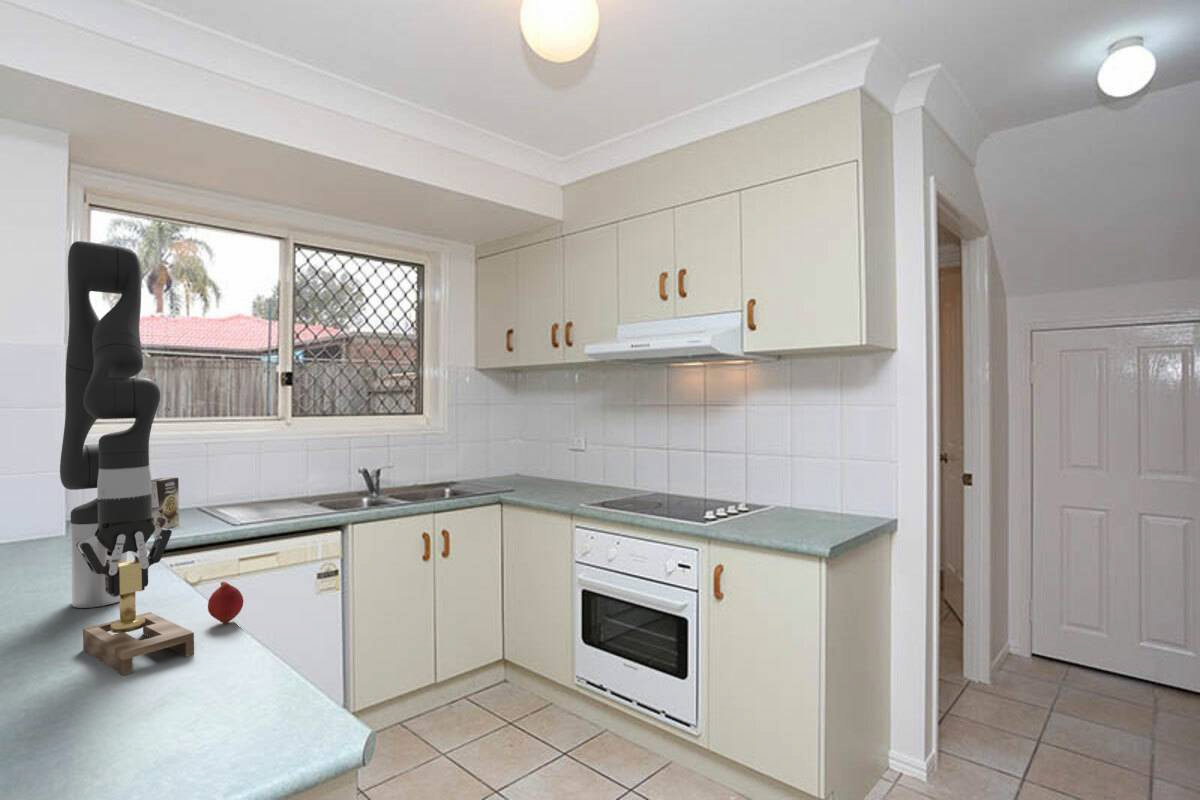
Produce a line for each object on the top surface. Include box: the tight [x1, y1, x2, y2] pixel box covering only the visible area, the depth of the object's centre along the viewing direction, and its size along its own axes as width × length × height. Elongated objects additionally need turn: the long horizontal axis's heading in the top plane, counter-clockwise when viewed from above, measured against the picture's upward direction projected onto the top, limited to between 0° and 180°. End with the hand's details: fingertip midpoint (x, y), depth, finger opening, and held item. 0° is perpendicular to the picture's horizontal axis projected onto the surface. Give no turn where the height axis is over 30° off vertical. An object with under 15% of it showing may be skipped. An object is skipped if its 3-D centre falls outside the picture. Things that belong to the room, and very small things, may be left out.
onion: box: [207, 580, 244, 624], centre depth 122 cm, size 6×6×8 cm
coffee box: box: [151, 477, 180, 529], centre depth 212 cm, size 9×6×16 cm
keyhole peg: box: [110, 559, 145, 634], centre depth 111 cm, size 5×5×11 cm
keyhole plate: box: [82, 611, 195, 676], centre depth 109 cm, size 18×10×4 cm, turn 54°
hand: (127, 592), depth 111 cm, fingers closed on keyhole peg, 3 cm apart
